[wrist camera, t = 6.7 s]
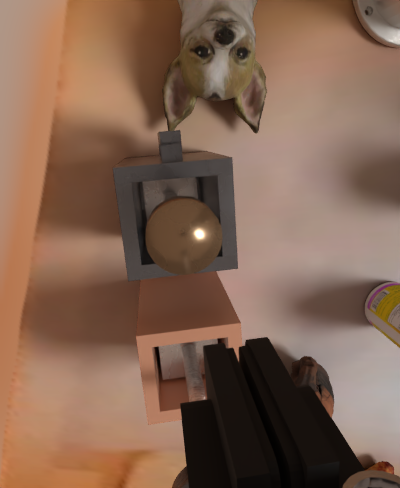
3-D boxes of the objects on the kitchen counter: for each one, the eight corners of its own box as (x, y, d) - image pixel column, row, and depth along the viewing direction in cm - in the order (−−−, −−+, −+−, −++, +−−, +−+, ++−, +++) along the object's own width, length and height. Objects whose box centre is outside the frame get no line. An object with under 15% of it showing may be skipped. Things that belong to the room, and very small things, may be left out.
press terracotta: (140, 277, 46) (135, 336, 32) (215, 269, 46) (240, 322, 33) (151, 360, 49) (151, 445, 35) (220, 351, 49) (246, 430, 36)
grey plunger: (156, 324, 37) (160, 489, 20) (215, 317, 38) (269, 471, 20) (162, 376, 39) (171, 570, 21) (218, 368, 39) (271, 551, 22)
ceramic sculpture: (294, -59, 30) (279, 136, 35) (265, -23, 38) (256, 131, 43) (160, -67, 29) (164, 136, 34) (159, -28, 37) (162, 131, 42)
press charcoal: (122, 136, 41) (108, 135, 28) (205, 129, 42) (230, 126, 28) (135, 237, 44) (128, 281, 31) (212, 229, 45) (237, 268, 32)
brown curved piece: (331, 403, 55) (327, 458, 48) (265, 387, 58) (253, 437, 51) (342, 342, 48) (339, 395, 42) (267, 328, 51) (254, 376, 45)
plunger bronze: (141, 172, 41) (133, 198, 24) (194, 167, 42) (225, 189, 24) (147, 225, 43) (144, 285, 25) (199, 219, 43) (230, 275, 26)
